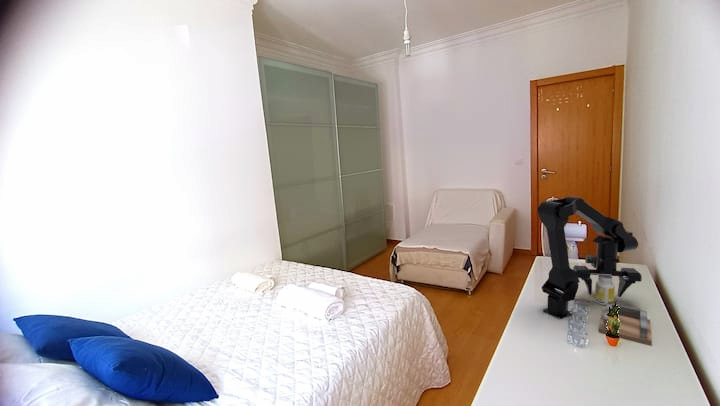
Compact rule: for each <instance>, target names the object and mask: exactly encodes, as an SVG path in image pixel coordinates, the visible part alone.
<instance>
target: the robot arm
mask: <svg viewBox="0 0 720 406" xmlns="http://www.w3.org/2000/svg"><path fill="white" fill-rule="evenodd" d="M537 214H538V217H539V220H540V222H541V223H542V224H543V226H544V227H545V228H546V233H547V240H548V246H549V252H550V253H549V254H550V259H551V266H552V267H551V269H550V270H549V272H548V278H547V279H546V281H545V283H543V285H542V286H541V289H542V292H543V293H544V294H546V295H547V305H546V306H547V307H545V308H544V309H542V311H543V312H544V313H546V314H548V315H551V316H553V317H555V318H558V319H560V320H561V319H565V318H566V317H568V316H571V315H572V314H571V313H570V312H572V311H571V310H569V302H571V301H574V300H575V298H576V296H577V292H578V289H579V285H580V284H579V283H580V282H581V281H584V284H585V287H586V289H587V292H588V295H589V296H592V293H593V279H592V278H591V276H599V275H604V276H611V277H618V281H619V282H618V289H617V297H618V298H621V297H622V296H623V295H624V294H625V292H626V291H627V289H629V287H631V286H632V284H637V283H638V282H639V283H641V282H642V279H643V275H642V273H640V272H639V271H638V270H637V269H635V268H634V267H621V268H620V270H617V265H618V263H619V259H618V253H623V252H624V253H626V252H629V251H634V250H636V249H637V248H639V247H638V246H639V241H638V240H637V238H636V237H635V236H634V233H633V232H632V231H628V230H626V229H625V227H624V224H623V222H622V221H620V220H618V219H616V218H613V217H609V216H607V215H605V214H603V213H602V212H600V211H599V210H597V209H596V208H594V207H593V206H592V205H590V204H589V203H588V202H586V201H585V200H584V198H582V197H577V196H566V197H563V198H557V199H552V200H544V201H542V202H541V203H540V204H539V206H537ZM575 214H576V215H577V216H580V217H581V218H582V219H584V220H585V221H587V222H588V223H589V224H590V227H591V229H592V230H593V231H594V232H595V233H596V234H599V235H597V236H596V237H595V238H593V240H592V242H593V243H595V244H596V253H595V257H594V256H593V254H585V257H584V258H585V259H584V260H585V264H590V265H591V267H592V268H593V269H590V268H588V267H587V266H586V265H573V267H572V268H571V266H570V261H569V260H570V259H569V254H568V253H569V251H568V246H567V238H566V231H565V227H566V226H567V223H568V222H569V217H571V216H574V215H575ZM601 235H604V236H601ZM580 279H581V281H580ZM636 282H637V283H636ZM570 314H571V315H570Z"/></svg>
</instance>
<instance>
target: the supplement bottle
mask: <svg viewBox="0 0 720 406" xmlns="http://www.w3.org/2000/svg"><path fill="white" fill-rule="evenodd" d="M597 276H598V277H597V280H596V281H595V286H594V289H595V292H594V293H595V294H594V302H596V303H598V304H599V305H602V306H606V303H609V304H612V303H614V300H615V283H614V282H613V276H604V275H597Z"/></svg>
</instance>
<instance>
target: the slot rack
mask: <svg viewBox="0 0 720 406" xmlns="http://www.w3.org/2000/svg"><path fill="white" fill-rule="evenodd" d="M615 304H616V305H617V306H619V307H620V309H619V311H618V314H619V320H620V322H621V324H620V329H619V336H620V337H619V338H621V339H624V340H629V341H632V342H637V343H640V344H645V345H649V346H652V339H653V338H652V329H651V328H652V327H651V326H652V324H651V319H649V318H648V311H647V310H642V309H641V308H638V307H634V306H629V305H623V304H619V303H612V304H609V303H606V305H605V309H602V310H601V316H600V321H599V324H598V325H599V326H598V333H602V334H605V333H606V327H607V325H606V323H607V319H608V316H607V314H608V313H609V307H610V308H612V307H613V306H614V305H615ZM605 335H606V334H605Z"/></svg>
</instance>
